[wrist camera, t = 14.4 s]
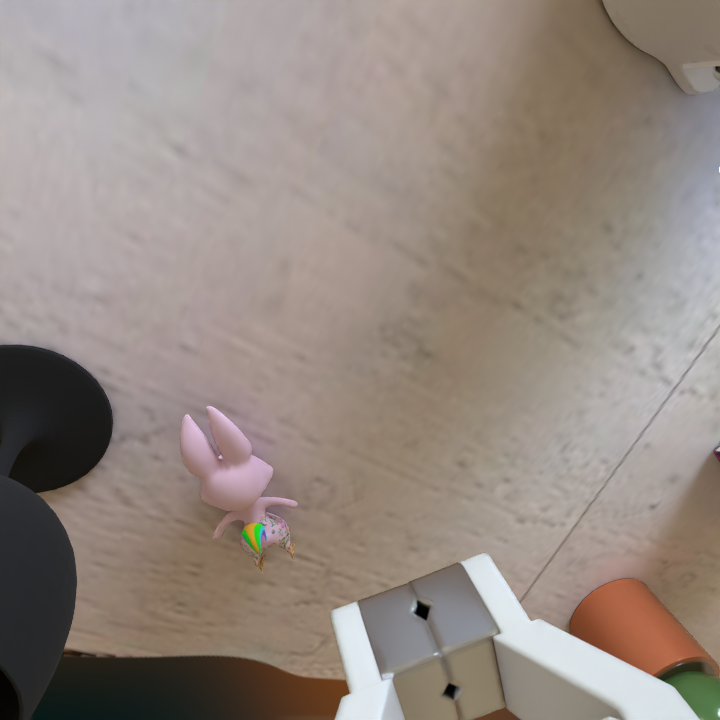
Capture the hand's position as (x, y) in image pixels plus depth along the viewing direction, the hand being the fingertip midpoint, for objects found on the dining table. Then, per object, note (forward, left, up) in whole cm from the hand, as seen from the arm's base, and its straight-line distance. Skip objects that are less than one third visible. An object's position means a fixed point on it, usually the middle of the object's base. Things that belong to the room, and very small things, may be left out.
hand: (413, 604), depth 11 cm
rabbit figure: (+6, +16, -29) cm, 34 cm away
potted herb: (-22, +46, -29) cm, 58 cm away
